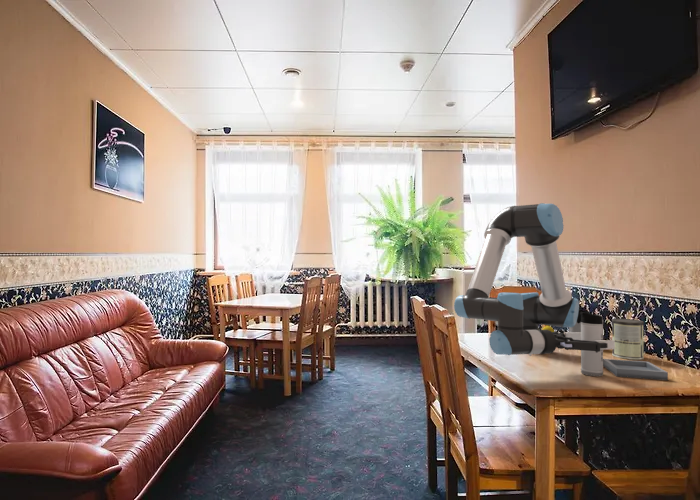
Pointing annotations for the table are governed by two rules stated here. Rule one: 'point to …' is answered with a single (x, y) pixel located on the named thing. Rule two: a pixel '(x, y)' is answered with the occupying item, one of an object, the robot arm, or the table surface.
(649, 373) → the tray
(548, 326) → the lemon
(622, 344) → the coffee can
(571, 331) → the lidded pitcher
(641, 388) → the table surface
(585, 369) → the travel mug
